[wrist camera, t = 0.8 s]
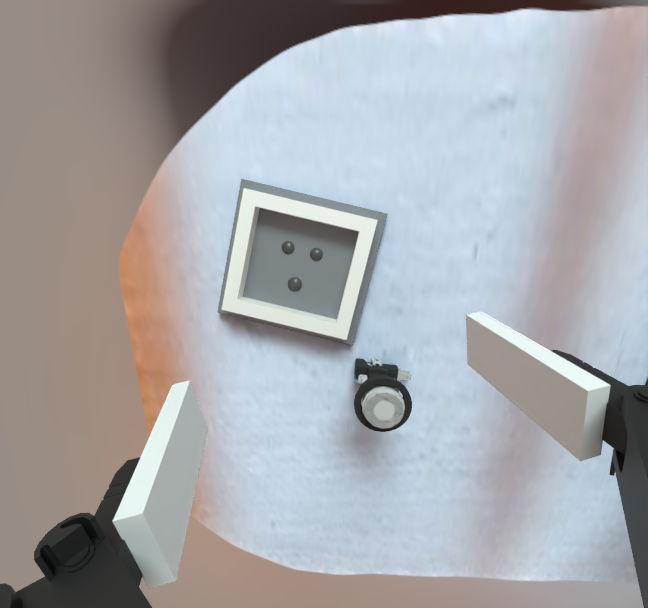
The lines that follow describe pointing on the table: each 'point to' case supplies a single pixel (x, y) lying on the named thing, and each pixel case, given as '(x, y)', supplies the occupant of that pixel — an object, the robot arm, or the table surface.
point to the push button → (381, 395)
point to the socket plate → (300, 261)
